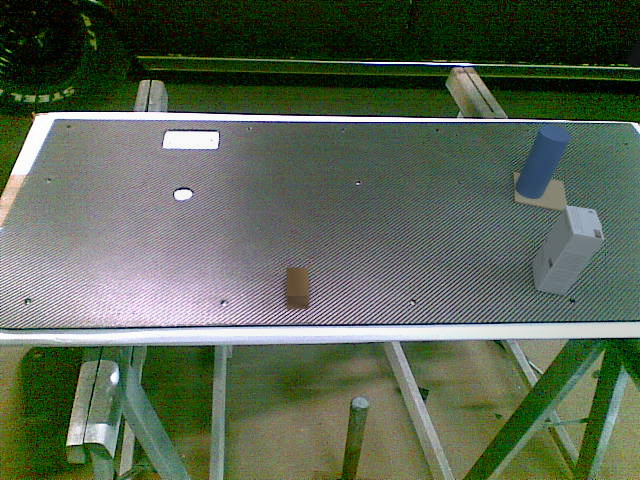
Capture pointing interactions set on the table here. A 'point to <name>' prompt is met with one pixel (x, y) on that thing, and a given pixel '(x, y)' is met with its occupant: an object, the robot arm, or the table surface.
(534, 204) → the mat
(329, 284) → the table surface
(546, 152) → the tube
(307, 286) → the brown rectangular block
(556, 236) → the cosmetic box
